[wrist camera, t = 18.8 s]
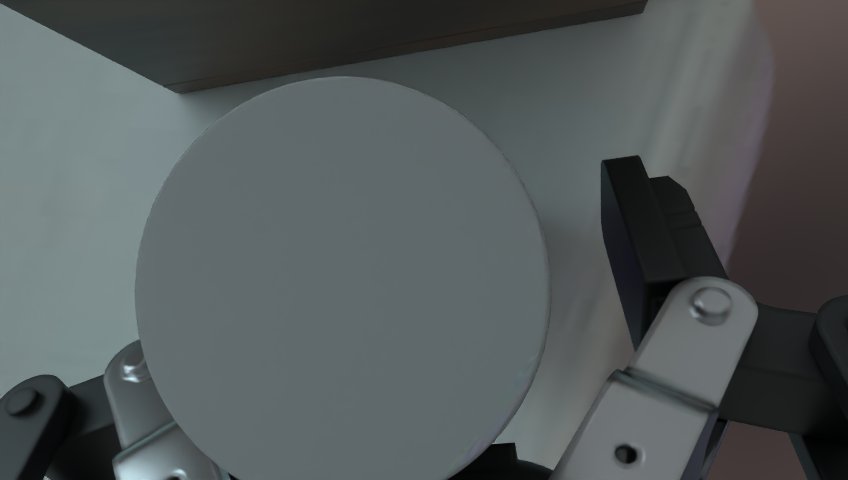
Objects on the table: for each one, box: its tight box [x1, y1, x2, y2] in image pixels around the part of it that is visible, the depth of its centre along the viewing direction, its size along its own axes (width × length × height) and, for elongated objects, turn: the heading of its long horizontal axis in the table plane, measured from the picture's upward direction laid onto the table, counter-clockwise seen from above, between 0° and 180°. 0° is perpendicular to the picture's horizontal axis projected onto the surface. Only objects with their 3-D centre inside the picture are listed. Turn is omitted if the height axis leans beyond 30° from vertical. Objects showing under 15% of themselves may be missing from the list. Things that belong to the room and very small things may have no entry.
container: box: [135, 76, 551, 480], centre depth 14 cm, size 5×5×15 cm
